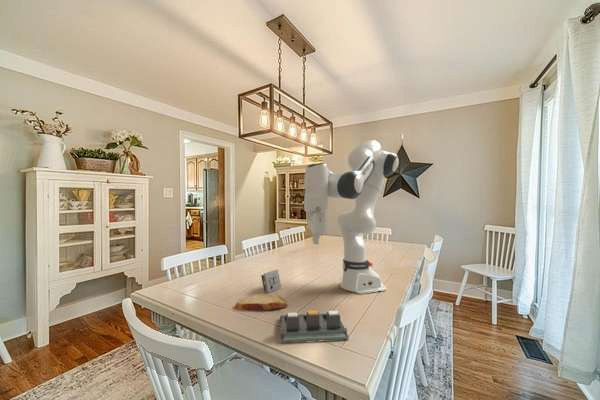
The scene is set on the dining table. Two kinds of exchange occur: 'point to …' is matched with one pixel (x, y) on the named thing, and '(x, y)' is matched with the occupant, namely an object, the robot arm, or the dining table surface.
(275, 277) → the electrical switch
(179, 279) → the dining table surface
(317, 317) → the breaker mid
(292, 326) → the breaker
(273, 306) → the slice of bread
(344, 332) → the panel
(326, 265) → the dining table surface
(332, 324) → the breaker
